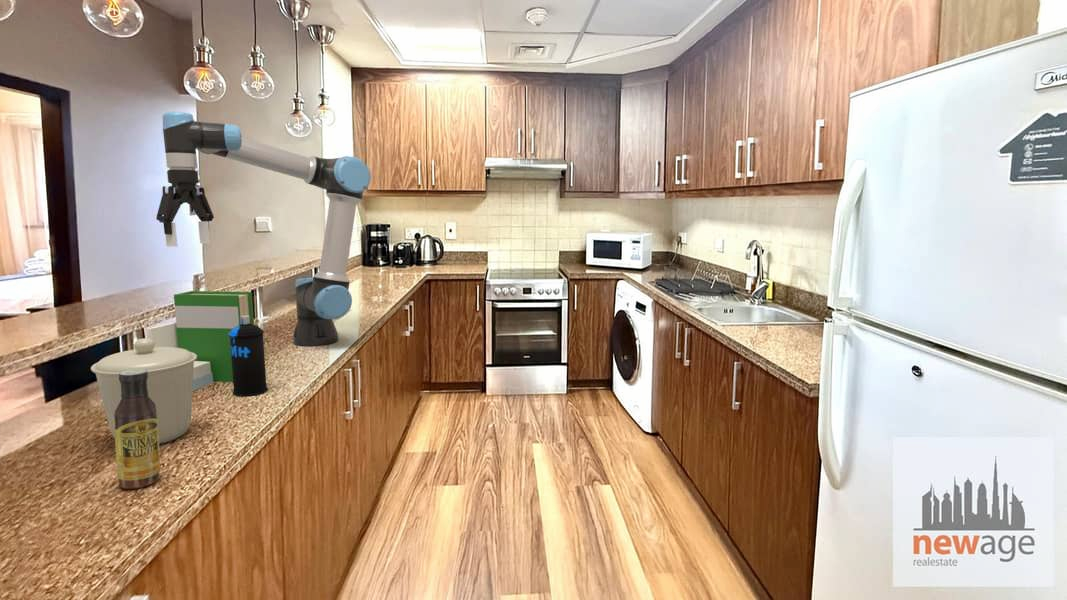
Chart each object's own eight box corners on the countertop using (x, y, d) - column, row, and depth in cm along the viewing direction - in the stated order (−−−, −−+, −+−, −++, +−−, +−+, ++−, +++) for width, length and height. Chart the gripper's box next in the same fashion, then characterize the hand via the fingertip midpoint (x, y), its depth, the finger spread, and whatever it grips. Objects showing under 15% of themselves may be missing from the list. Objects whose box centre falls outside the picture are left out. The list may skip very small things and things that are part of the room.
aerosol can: (257, 385, 159) (251, 312, 156) (274, 390, 155) (269, 315, 152) (226, 392, 153) (220, 316, 150) (243, 398, 148) (237, 320, 145)
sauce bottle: (124, 494, 99) (111, 379, 96) (114, 483, 103) (101, 372, 100) (168, 481, 103) (157, 371, 100) (156, 471, 108) (146, 365, 105)
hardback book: (257, 374, 169) (251, 291, 166) (243, 382, 162) (236, 295, 158) (198, 373, 170) (191, 290, 167) (181, 380, 163) (173, 294, 159)
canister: (222, 426, 130) (215, 332, 126) (152, 459, 112) (142, 351, 109) (154, 419, 134) (145, 327, 130) (76, 450, 116) (63, 346, 113)
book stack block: (178, 380, 163) (176, 359, 162) (213, 382, 161) (211, 361, 160) (154, 389, 155) (151, 367, 154) (190, 392, 153) (188, 369, 152)
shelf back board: (204, 369, 175) (199, 315, 172) (207, 369, 175) (203, 315, 172) (152, 388, 156) (147, 328, 154) (156, 388, 156) (151, 328, 154)
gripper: (200, 171, 180) (206, 242, 183) (135, 166, 155) (143, 247, 159) (223, 171, 179) (228, 242, 182) (161, 166, 154) (169, 248, 158)
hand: (189, 245), depth 170 cm, fingers open, 13 cm apart
